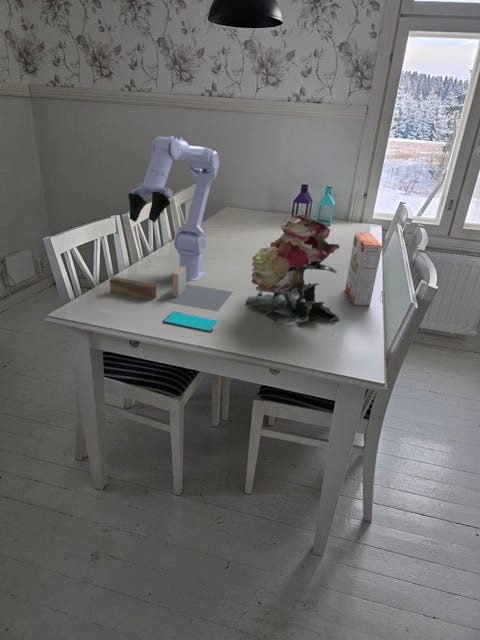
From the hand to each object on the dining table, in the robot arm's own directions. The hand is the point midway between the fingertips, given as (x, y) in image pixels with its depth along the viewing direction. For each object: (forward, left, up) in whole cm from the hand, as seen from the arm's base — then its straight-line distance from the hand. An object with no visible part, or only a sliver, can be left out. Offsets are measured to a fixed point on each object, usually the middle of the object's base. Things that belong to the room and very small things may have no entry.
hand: (142, 220), depth 118 cm
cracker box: (-34, +62, -27) cm, 75 cm away
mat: (-13, +12, -27) cm, 32 cm away
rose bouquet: (-16, +41, -27) cm, 51 cm away
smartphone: (+4, +17, -27) cm, 32 cm away
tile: (-13, +6, -26) cm, 30 cm away
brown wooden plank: (-6, -7, -27) cm, 28 cm away
